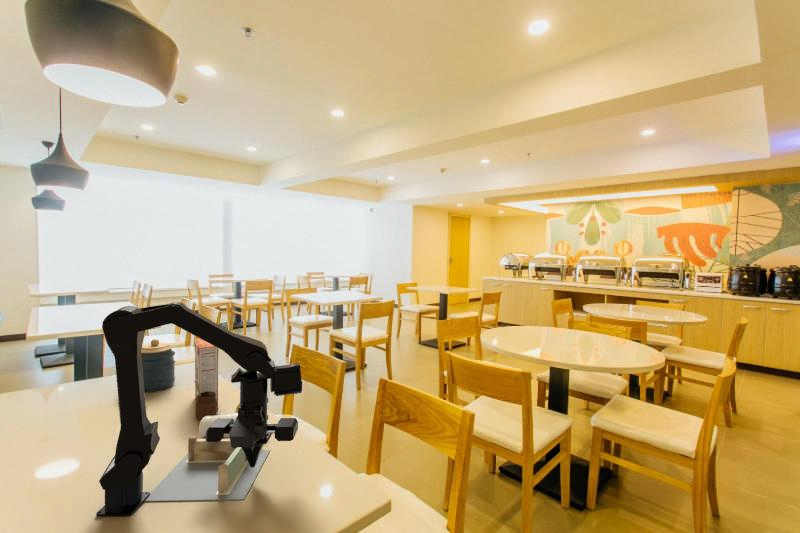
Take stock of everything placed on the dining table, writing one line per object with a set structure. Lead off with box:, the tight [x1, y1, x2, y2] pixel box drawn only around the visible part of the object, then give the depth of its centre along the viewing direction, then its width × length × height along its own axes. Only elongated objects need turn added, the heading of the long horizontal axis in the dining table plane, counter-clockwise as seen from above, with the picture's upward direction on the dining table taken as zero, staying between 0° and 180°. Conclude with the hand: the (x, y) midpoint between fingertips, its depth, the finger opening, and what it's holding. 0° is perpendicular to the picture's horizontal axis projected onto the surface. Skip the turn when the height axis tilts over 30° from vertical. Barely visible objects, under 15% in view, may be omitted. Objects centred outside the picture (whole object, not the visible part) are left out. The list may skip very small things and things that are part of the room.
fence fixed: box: [187, 435, 247, 461], centre depth 90 cm, size 15×2×6 cm, turn 94°
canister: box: [141, 338, 176, 393], centre depth 137 cm, size 13×13×18 cm
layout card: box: [143, 449, 271, 503], centre depth 85 cm, size 19×20×1 cm
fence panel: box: [218, 447, 245, 493], centre depth 83 cm, size 12×2×5 cm, turn 3°
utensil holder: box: [194, 380, 218, 421], centre depth 113 cm, size 6×6×12 cm
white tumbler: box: [198, 412, 238, 439], centre depth 102 cm, size 7×7×15 cm
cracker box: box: [194, 337, 219, 410], centre depth 123 cm, size 14×6×21 cm, turn 33°
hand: (253, 466), depth 83 cm, fingers closed
